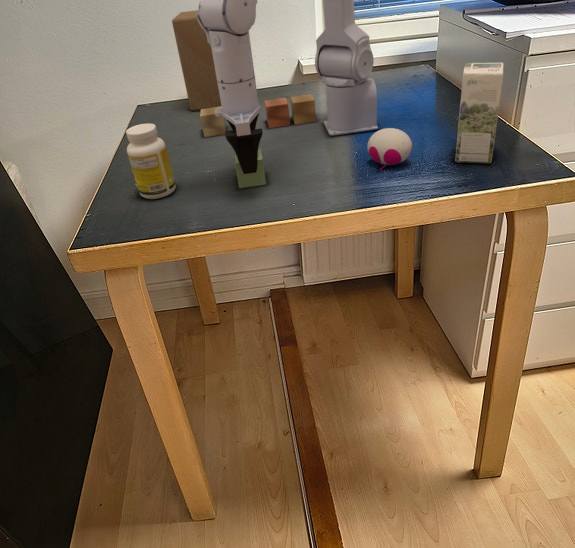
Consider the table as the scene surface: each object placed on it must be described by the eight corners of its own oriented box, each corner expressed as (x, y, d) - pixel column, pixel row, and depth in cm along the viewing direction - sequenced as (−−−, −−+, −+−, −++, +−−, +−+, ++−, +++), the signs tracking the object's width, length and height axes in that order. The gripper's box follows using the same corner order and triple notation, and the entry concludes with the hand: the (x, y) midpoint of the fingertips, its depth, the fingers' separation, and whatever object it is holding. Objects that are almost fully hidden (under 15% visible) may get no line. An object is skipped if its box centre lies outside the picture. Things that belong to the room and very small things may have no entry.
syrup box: (492, 150, 87) (504, 60, 79) (491, 165, 83) (504, 71, 74) (457, 149, 89) (465, 61, 81) (454, 163, 85) (462, 71, 76)
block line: (313, 115, 112) (311, 93, 109) (316, 121, 108) (314, 100, 105) (204, 130, 111) (200, 109, 109) (204, 137, 107) (200, 115, 105)
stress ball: (365, 181, 90) (352, 159, 85) (382, 142, 92) (370, 119, 86) (405, 187, 86) (394, 165, 81) (422, 147, 88) (413, 122, 82)
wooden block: (232, 107, 122) (216, 14, 111) (190, 111, 123) (170, 19, 111) (236, 95, 130) (222, 7, 119) (197, 99, 131) (179, 12, 119)
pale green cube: (264, 173, 89) (260, 148, 87) (266, 184, 86) (262, 159, 83) (238, 177, 89) (234, 152, 87) (239, 188, 85) (234, 163, 83)
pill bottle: (161, 181, 91) (144, 119, 85) (183, 188, 88) (168, 124, 81) (132, 195, 88) (113, 132, 81) (155, 203, 84) (136, 138, 78)
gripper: (210, 70, 84) (224, 150, 91) (208, 95, 72) (225, 184, 79) (253, 64, 84) (264, 144, 92) (259, 88, 72) (270, 178, 80)
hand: (249, 163), depth 85 cm, fingers open, 7 cm apart
